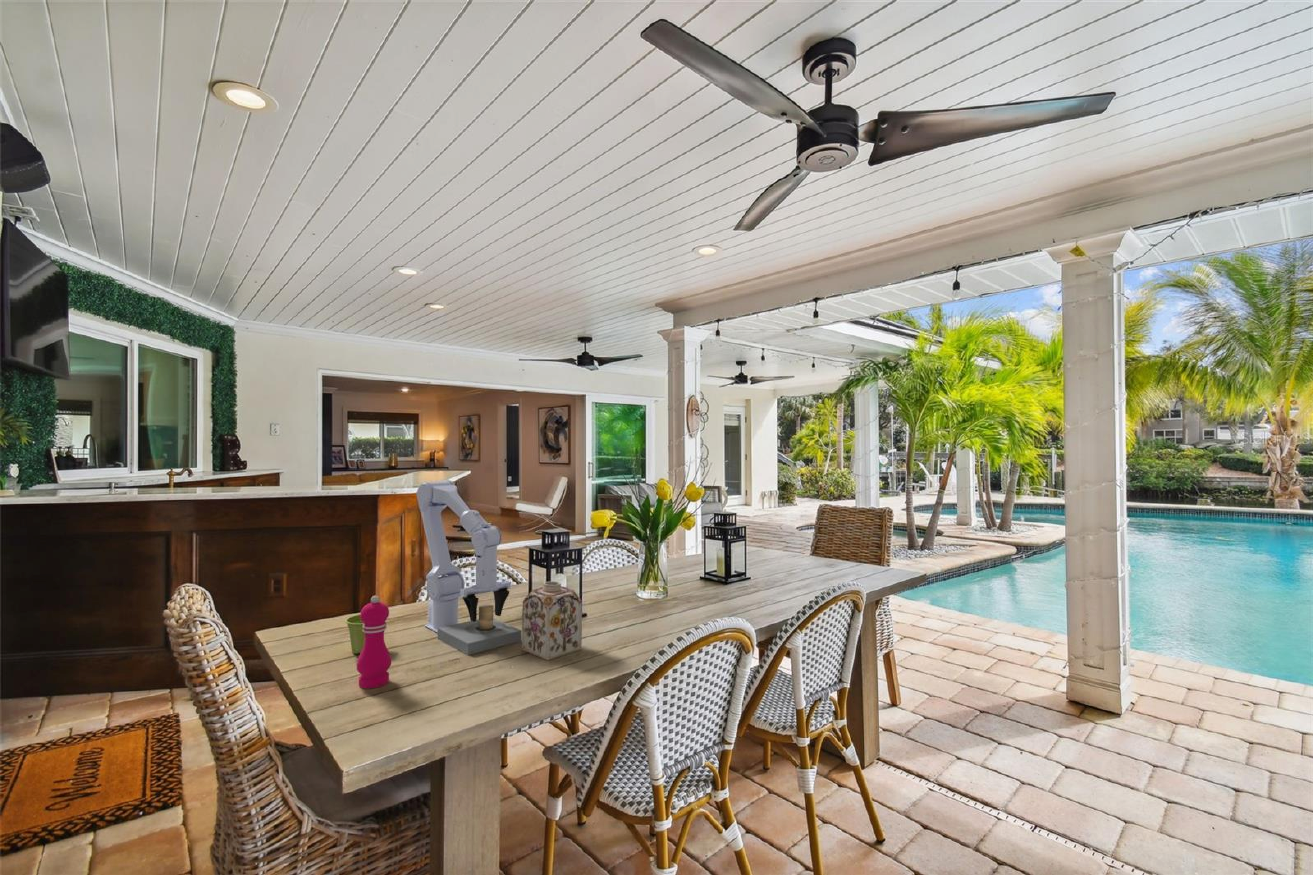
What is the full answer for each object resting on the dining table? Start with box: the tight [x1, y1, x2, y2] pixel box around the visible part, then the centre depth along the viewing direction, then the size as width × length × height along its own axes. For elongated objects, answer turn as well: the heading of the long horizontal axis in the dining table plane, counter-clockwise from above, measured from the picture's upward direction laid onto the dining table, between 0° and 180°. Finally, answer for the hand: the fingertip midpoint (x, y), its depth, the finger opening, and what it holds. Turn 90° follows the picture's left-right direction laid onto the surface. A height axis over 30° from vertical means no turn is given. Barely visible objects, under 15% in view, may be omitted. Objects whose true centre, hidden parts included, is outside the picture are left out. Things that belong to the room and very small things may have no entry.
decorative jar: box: [521, 580, 583, 661], centre depth 158 cm, size 12×12×18 cm
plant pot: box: [345, 613, 365, 655], centre depth 157 cm, size 9×9×9 cm
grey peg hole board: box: [437, 618, 522, 656], centre depth 166 cm, size 18×16×3 cm
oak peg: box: [478, 604, 495, 631], centre depth 167 cm, size 4×4×9 cm
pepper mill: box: [356, 595, 392, 689], centre depth 135 cm, size 7×7×20 cm
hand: (485, 618), depth 167 cm, fingers open, 7 cm apart
